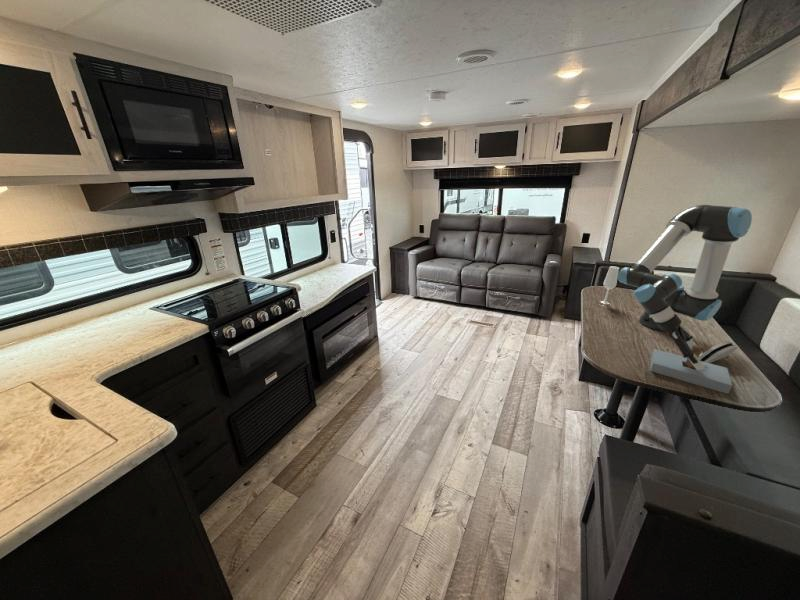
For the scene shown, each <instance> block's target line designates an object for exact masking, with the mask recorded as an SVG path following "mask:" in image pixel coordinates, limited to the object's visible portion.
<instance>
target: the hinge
mask: <svg viewBox="0 0 800 600" xmlns="http://www.w3.org/2000/svg"><path fill="white" fill-rule="evenodd" d="M737 349H739V347H738V346H737V345H736V344H733V343H732V342H731V341H724V342H723V341H722V342H720V343H718V344H717V345H714V346H712V347H710V348H708V349H707V350H706V351H704V352H702V353H700V356H699V358H698V359H699V360H700V361H702V362H706V363H710V364H712V363H713V362H715V361H718V360H721V359H724V358H726V357H728V356H729V355H731V354H732V353H734V352H735V351H736V350H737Z"/></svg>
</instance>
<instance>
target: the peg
mask: <svg viewBox="0 0 800 600" xmlns="http://www.w3.org/2000/svg"><path fill="white" fill-rule="evenodd" d="M691 351H692V352H693V353H694V354H695V355H696V356H697V357H698V358H699V356H700V354H702V353H701V351H702V352H703V347H702V346H700V345H697V344H696V345H693V347H692V349H691ZM684 367H687V368H691V369H694V366H693V365H692V363H691V362H690V361H689V360H688V358H687V360H686V363H685V365H684Z"/></svg>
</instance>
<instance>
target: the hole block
mask: <svg viewBox="0 0 800 600" xmlns="http://www.w3.org/2000/svg"><path fill="white" fill-rule="evenodd" d="M683 356H684V355H679V354H676V353H671V352H667V351H664V350H660V349H656V348H654V349H653V350H652V353H651V357H650V369H649V370H650V372H652V373H655V374H659V375H663V376H666V377H670V378H673V379H675V380H680V381H684V382H686V383H689V384H694V385H697V386H699V387H703V388H706V389H710V390H714V391H717V392H720V393H724V394H727V395H729V393H730V392H731V389H732V387H733V382H732V380H731V376H730V373H729V370H728V367H725V366H721V365H717V364H713V363H706V362H703V360H700V361H701V362H702V364H703V365H704V366H705V367H706V368H705V369H701V370H698V371H697V370H696V368H695V367H694V369H691V368H687V367H684V365H685V363H686V360H687V358H684V357H683Z"/></svg>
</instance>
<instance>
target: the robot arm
mask: <svg viewBox="0 0 800 600" xmlns="http://www.w3.org/2000/svg"><path fill="white" fill-rule="evenodd" d="M752 217H753V216H752V213H751V211H750V210H749V209H747V208H746V207H745V208H744V207H737V206H723V205H713V204H712V205H711V204H699V205H698V204H697V205H695V206H692V207H689V208H686V209H685V210H682V211H681V212H679V213H678V214H676V215H675V216H673V217H672V218H671V219H670V220H669V221H668V222H667V223H666V224H665V229H664V230H663V231H662V233H660V234H659V236H658V237H657V238H656V239H655V241H654V242H652V244H651V245H650V246H649V247H648V248H647V249H646V250H645V251H644V253H643V254H642V255H641V256H640V257H639V258H638V260H637V261H636V262H635V263H634V264H633V265H631V267H628V266H625V267H623V268H621V270H620V269H619V272H618V278H617V281H619V283H621V284H625V286H626V285H627V286H631V287H635V288H637V289H635V290H634V291H633V296H634V297H635V299H636V301H637V303H639V304H640V305H641V306H642V308H643V309H644V311H643V312H642V314H641V315H640V316H639V318H638V322H639V323H640V324H641V325H643V326H644V327H647V328H650V329H654V330H656V331H657V330H658V331H665V332H666V331H667V332H668V331H669V337H670V338H672V340H673V342H674V343H675V344H676V346H677V348H678V349H679V350H680V352H681V353H682V356H683V357H684V358H688V360H689V361H690V362H691V363H692V365H693V366H694V367H695V368H696V370H697V371H698V370H701V369H705V368H706V367H705V366H704V365H703V364H702V362H703V361H702V360H699V359H698V357H697V356H696V355H695V354H694V353H693V352H692V351H691V349H692V347H693V345H697V344H696V343H695V341H694V336H692V335H690V333H688V332H687V330H685V329H684V328H683V326H681V324H682V320H681V318H680V317H679V316H678V314H680V315H683V316H686V317H689V318H693V319H695V320H698V321H703V322H705V321H709V320H711V318H713V317H714V316H715V314H716V313H718V312H719V309H720V308H721V306H722V304H723V301H722V300H721V299H718V298H719V293H718V292H717V291H716V290H717V287H718V284H719V281H720V280H721V279H720V278H721V275H722V273H723V270H724V268H725V267H724V266H725V265H726V261H727V258H728V255H729V254H730V253H729V252H730V250H731V248H732V244H733V243H735V242H737V241H739V239H740V238H743V237H745V236H746V235H747V234H748V232H749V229H750V227H751V225H752V221H753V220H752V219H753V218H752ZM692 232H699V233H702V235H701V238H702V240H704V245H703V248H702V251H701V254H700V257H699V260H698V263H697V266H696V270H695V272H694V277H693V280H692V282H691V286H690V287H689V288H687V289H685V287H684V286H683V281H682V278H681V277H680V275H678V274H676V273H672V272H671V273H670V272H669V273H666V274H663V275H662V276H661V275H659V274H654V273H652V272H654V270H655V269H656V268H657V267H658V265H659V264H661V262H662V261H663V260H664V259H665V258H666V256H667V255H668V254H670V252H671V251H672V250H673V249H674V248H675V246H676V245H677V244H679V242H680V241H681V240H682V239H683V238H684V237H687V236H689V234H691V233H692ZM677 313H678V314H677ZM702 353H703V350H702V351H701V353H700V354H702ZM701 361H702V362H701Z"/></svg>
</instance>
